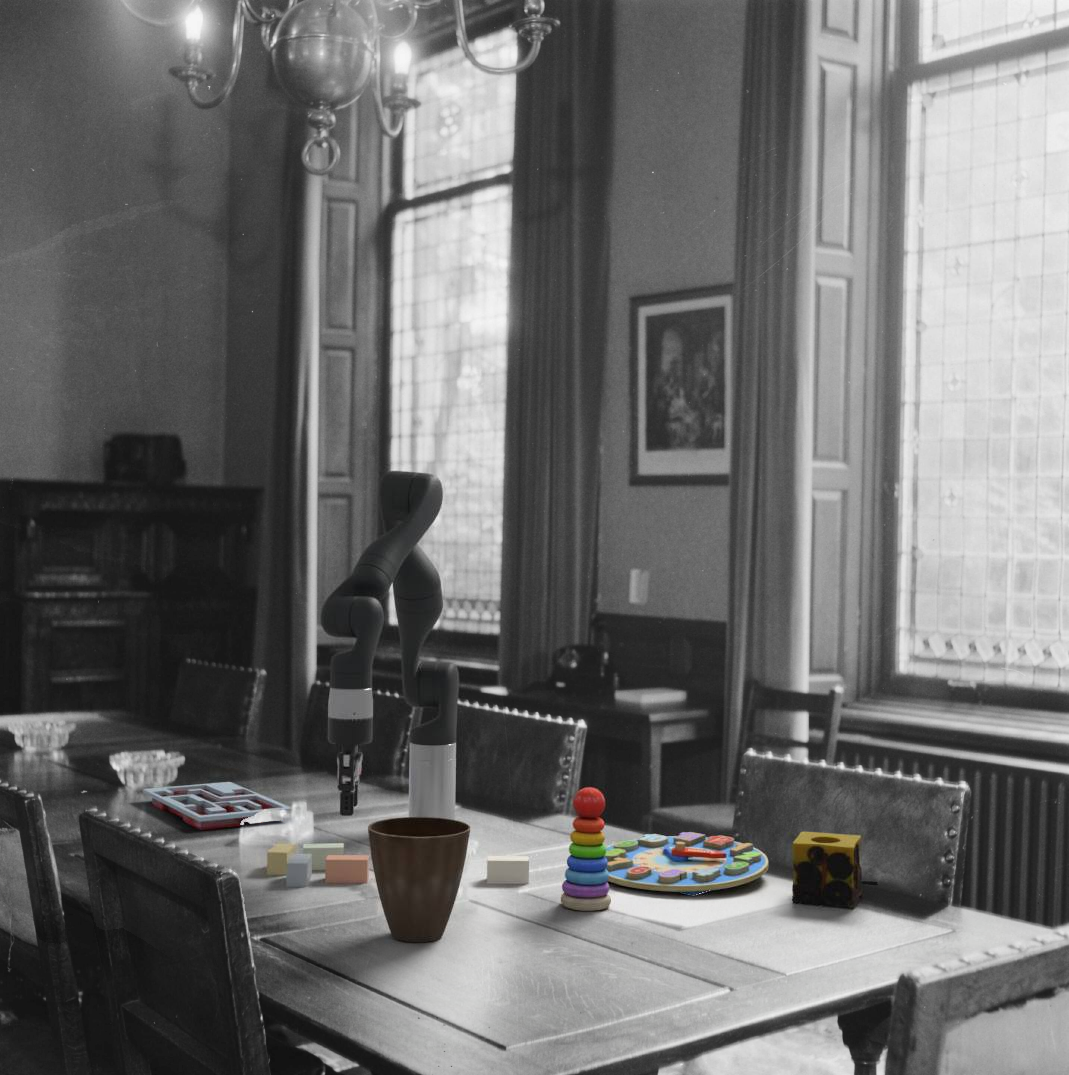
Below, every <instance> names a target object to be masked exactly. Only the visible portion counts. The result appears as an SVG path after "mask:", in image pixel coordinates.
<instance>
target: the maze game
mask: <svg viewBox="0 0 1069 1075" xmlns="http://www.w3.org/2000/svg"><path fill="white" fill-rule="evenodd" d="M142 794H144V795H146V796H147V797H148V796H149V798H151V800H152V801H151V802H152V803H151V805H152V804H153V805H154V806H153V805H152V806H153V807H155V806H156V807H155V808H157V807H158V808H157V809H159V808H160V809H159V810H161V809H162V810H161V811H167V810H168V812H170V813H172V814H175V815H176V816H178V817H180V818H182V820H183V822H185V823H187V824H188V825H190V826H192V827H195V828H196V829H198V830H201V831H202V830H203V831H204V830H213V829H223V828H231V827H232V828H233V827H240V823H241V821H242V820H243V819H245V818H248V817H251V816H254V815H255V814H256V813H258V812H260V811H261V810H264V809H268V810H282V809H285V810H289V811H290V810H291V808H292V806H289V805H287V804H283V803H281V802H279V801H277V800H275V799H272V798H270V797H268V796H265V795H263V794H260V793H258V792H255V791H253V790H251V789H248V788H246V787H243V786H241V785H239V784H236V783H235V782H234V783H233V782H231V781H226V782H225V781H222V782H211V783H202V784H201V783H199V784H197V783H196V784H189V785H188V784H187V785H177V786H175V785H174V786H163V787H152V788H142Z"/></svg>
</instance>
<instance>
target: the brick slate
mask: <svg viewBox="0 0 1069 1075" xmlns="http://www.w3.org/2000/svg"><path fill="white" fill-rule="evenodd" d="M312 872H313V870H312V854H303V853H296V854H291V856H290V858H289V860H288V862H287V871H286V875H285V876H286V878H285V879H286V881H285V882H286V884H285V886H286V888H287V887H291V888H297V887H299V888H300V887H301V888H303V887H305V888H306V887H308V885H309V883H310V880H311V879H312V875H313V873H312Z"/></svg>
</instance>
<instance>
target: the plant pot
mask: <svg viewBox="0 0 1069 1075" xmlns="http://www.w3.org/2000/svg"><path fill="white" fill-rule="evenodd" d="M367 830H368V833H367V834H368V840H369V842H368V843H369V849H370V855H371V856H370V857H371V862H372V869H373V873H374V874H373V875H374V878H375V883H376V888H377V891H378V896H379V900H380V903H381V907H382V910H383V913H384V918H385V921H386V923H387V926H388V928H389V931H390V933H391V936H392V938H393V939H395V940H397V941H400V942H405V943H429V942H434V941H437V940H439V939H441V938H442V937H443V935H444V933H445V931H446V927H447V925H448V922H449V920H450V918H451V914H452V912H453V909H454V905H455V902H456V899H457V895H458V892H459V888H460V884H461V882H462V877H463V872H464V867H465V863H466V859H467V854H468V853H467V852H468V846H469V841H470V840H469V839H470V833H471V826H470V825H469V823H466V822H465V821H464V822H463V821H460V820H456V819H455V820H452V819H445V818H434V817H409V816H406V817H404V816H403V817H402V816H401V817H394V818H385V819H381V820H380V819H379V820H376V821H374V822H371V823H370V824H369V825H368V826H367ZM428 941H429V942H428Z"/></svg>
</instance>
